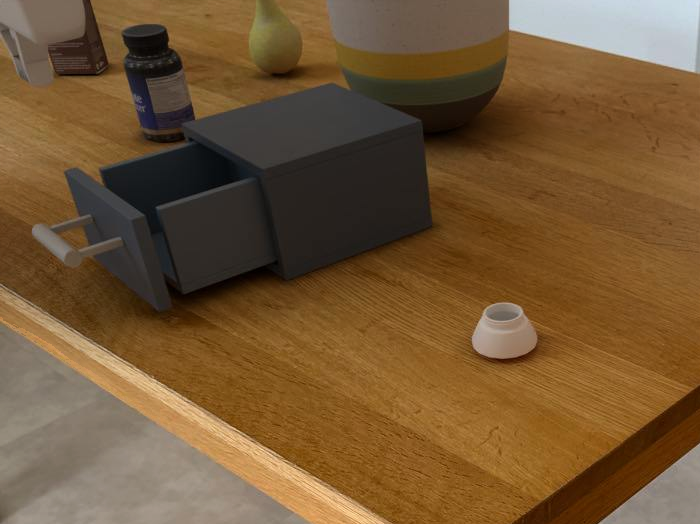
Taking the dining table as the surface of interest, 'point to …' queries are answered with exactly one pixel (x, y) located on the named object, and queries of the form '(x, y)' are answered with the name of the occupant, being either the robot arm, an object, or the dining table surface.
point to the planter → (423, 54)
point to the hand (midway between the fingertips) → (37, 81)
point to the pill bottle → (157, 82)
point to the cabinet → (326, 172)
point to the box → (80, 49)
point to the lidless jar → (504, 332)
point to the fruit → (274, 39)
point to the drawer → (168, 221)
